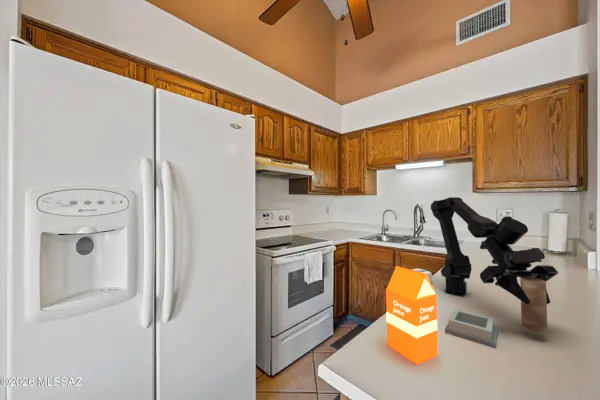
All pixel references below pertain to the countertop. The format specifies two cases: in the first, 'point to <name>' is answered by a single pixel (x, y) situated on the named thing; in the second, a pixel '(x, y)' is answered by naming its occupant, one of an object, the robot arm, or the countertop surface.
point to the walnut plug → (534, 304)
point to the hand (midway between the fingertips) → (538, 303)
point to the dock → (473, 327)
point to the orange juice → (411, 315)
